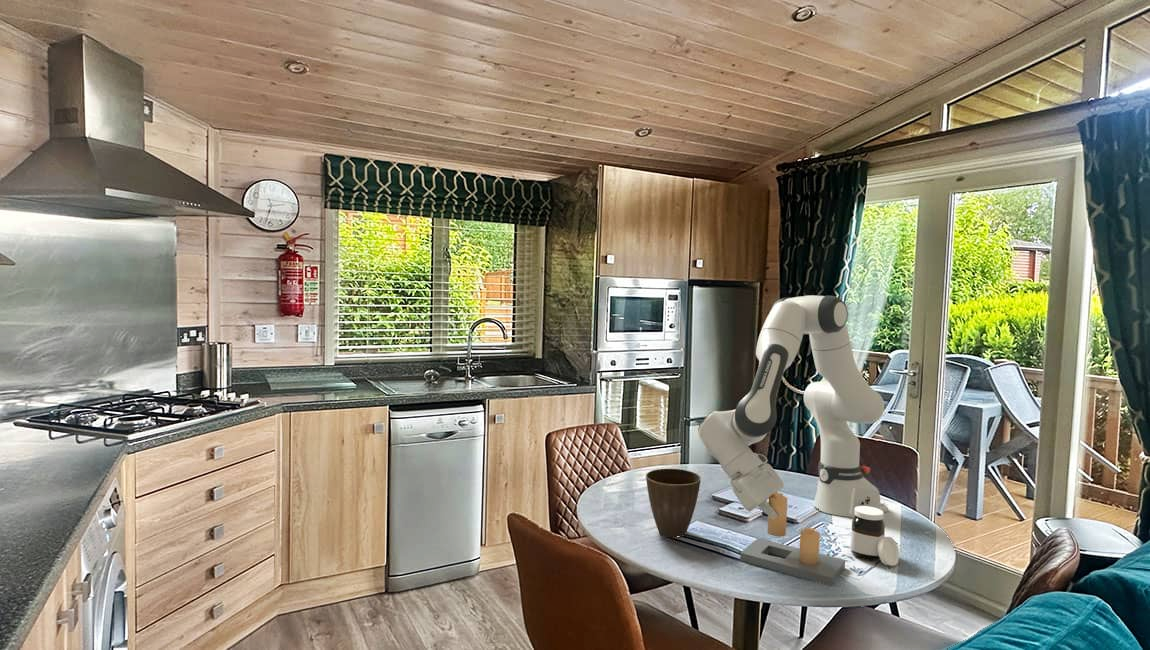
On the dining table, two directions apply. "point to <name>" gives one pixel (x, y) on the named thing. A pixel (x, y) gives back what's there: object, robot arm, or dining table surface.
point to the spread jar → (872, 537)
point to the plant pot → (672, 499)
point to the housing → (796, 558)
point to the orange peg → (779, 523)
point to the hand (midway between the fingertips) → (780, 514)
